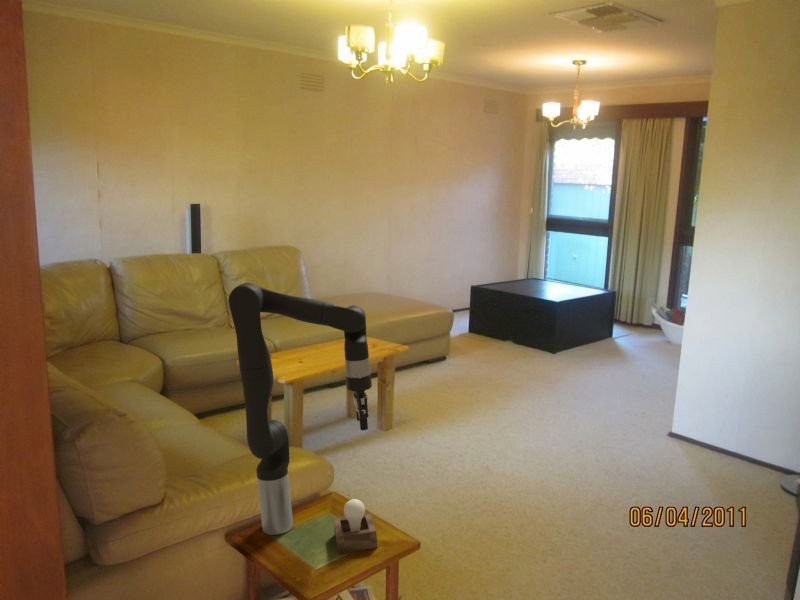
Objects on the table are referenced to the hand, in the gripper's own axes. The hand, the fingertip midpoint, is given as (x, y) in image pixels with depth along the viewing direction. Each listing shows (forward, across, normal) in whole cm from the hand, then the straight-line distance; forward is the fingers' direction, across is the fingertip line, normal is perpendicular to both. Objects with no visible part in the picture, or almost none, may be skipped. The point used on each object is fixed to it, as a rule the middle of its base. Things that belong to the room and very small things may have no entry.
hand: (362, 424), depth 195 cm
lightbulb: (+29, +12, -6) cm, 32 cm away
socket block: (+30, +12, -6) cm, 33 cm away
